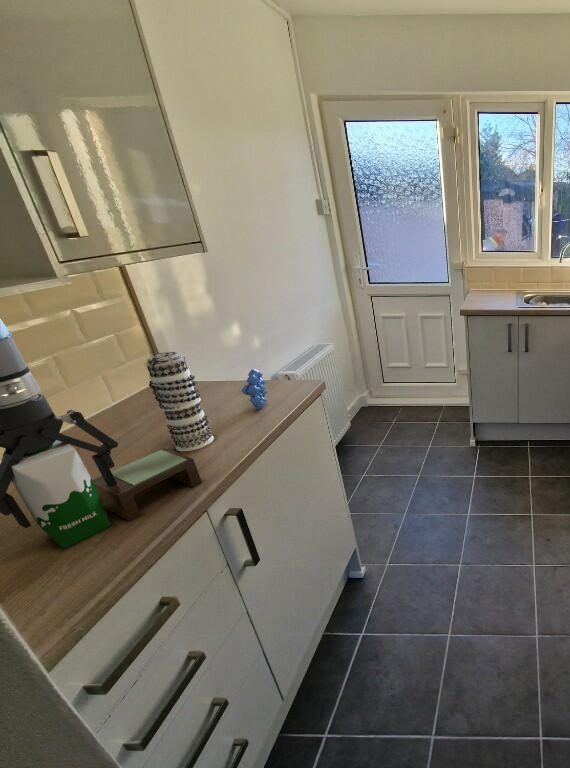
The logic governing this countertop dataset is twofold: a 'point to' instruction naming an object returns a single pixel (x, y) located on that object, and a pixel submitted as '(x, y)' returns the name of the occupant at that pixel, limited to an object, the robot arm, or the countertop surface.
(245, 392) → the grapes
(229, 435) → the countertop surface
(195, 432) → the white patterned cylinder
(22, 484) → the milk carton
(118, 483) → the brown wooden stand
